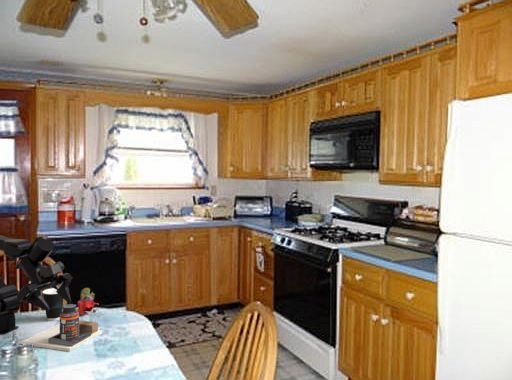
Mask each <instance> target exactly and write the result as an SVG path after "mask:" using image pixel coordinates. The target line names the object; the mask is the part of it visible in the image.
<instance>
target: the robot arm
mask: <svg viewBox="0 0 512 380" xmlns="http://www.w3.org/2000/svg"><path fill="white" fill-rule="evenodd" d="M54 249H55V244H54V243H53V242H52V241H50V240H48V239H46V238H44V237H43V236H37V237H35V238H34V241H33V242H31V241H30V240H29V239H22V238H10V237H7V236H5V235H1V234H0V251H2V252H3V254H4V256H7V257H8V258H9V259H14V260H15V259H18V258H21V259H20V260H17V261H16V265H15V270H19V269H21V270H22V271H23V273H24V274H25V275H26V279H25V280H26V282H27V283H28V282H31V283H28V284H24V285H23V286H22V288H20V290H18V288H17V286H16V285H15V284H10V285H8V284H6V283H5V281H4V280H3V278H2V277H1V276H0V335H6V334H7V333H10V332H12V331H14V330H16V329H19V325H16V316H15V315H16V314H15V312H17V311H20V309H21V308H20V307H21V306H22V305H21V304H22V302H24V303H26V304H27V303H28V304H31V305H32V306H35V307H38V308H39V309H42V310H43V311H45V310H46V311H49V309H50V308H49V306H48V305H47V303H46V301H45V300H44V296H43V294H42V291H44V290H47V289H52V288H54V289H56V290H57V291H56V292H57V293H58V294H59V295H60V296H61V297H62V298H63V301H65V302H67V303H68V304H71V302H72V298H71V294H70V289H69V285H70V283H71V282H72V280H73V279H74V278H73V276H72V275H71V273H68V272H65V273H63V271H64V270H65V265H64V263H62V261H60V260H59V261H56V262H54V263H53V264H52V265H48V266H47V265H45V266H44V264H42V262H44V261H45V260H46V259H47V258H48V257H49V255H50V254H51V253H52V252H53V251H54ZM61 273H62V274H61ZM58 274H59V275H58ZM56 275H58V276H56ZM54 279H55V280H54ZM46 311H45V312H46Z"/></svg>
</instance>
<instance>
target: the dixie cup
mask: <svg viewBox="0 0 512 380" xmlns="http://www.w3.org/2000/svg"><path fill="white" fill-rule="evenodd" d="M56 291H57V290H56V289H54V287H51V288H47V289H44V290H42V291H41V294H42V297H43V298H44V300H45V301H46V303H47V305H48V306H49V308H50V309H49V311H46V310H44V311H45V317H46V319H47V321H48V322H54V321H60V314H61V313H62V312H63V306H64V299H63V298H62V297H61V296H60V295H59V294H58V293H57V292H56Z"/></svg>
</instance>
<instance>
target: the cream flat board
mask: <svg viewBox="0 0 512 380" xmlns="http://www.w3.org/2000/svg"><path fill="white" fill-rule="evenodd" d="M59 333H60V324H57V325H54V326H52V327H49V328H47V329H45V330H43V331H42V332H39V333H37V334H34V335H32V336H31V337H28V338H26V339H24V340H22V341H21V344H22V343H30V344H33V345H34V346H33V347H38V348H43V349H51V350H56V351H57V350H58V351H64V352H72V351H73V350H75V349H77V348H78V347H81V346H82V345H84V344H86V343H87V342H90V341H91V340H93V339H95V338H96V337H99V336H100V335H101V334H103V329H98V331H97V332H95V333H94V334H91V336H90V337H88V338H86V339H85V340H83V341H81V342H79V343H77V344H76V345H74V346H65V345H58V344H51V343H48V338H50V337H52V336H55V335H57V334H59ZM79 336H80V335H79Z"/></svg>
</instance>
